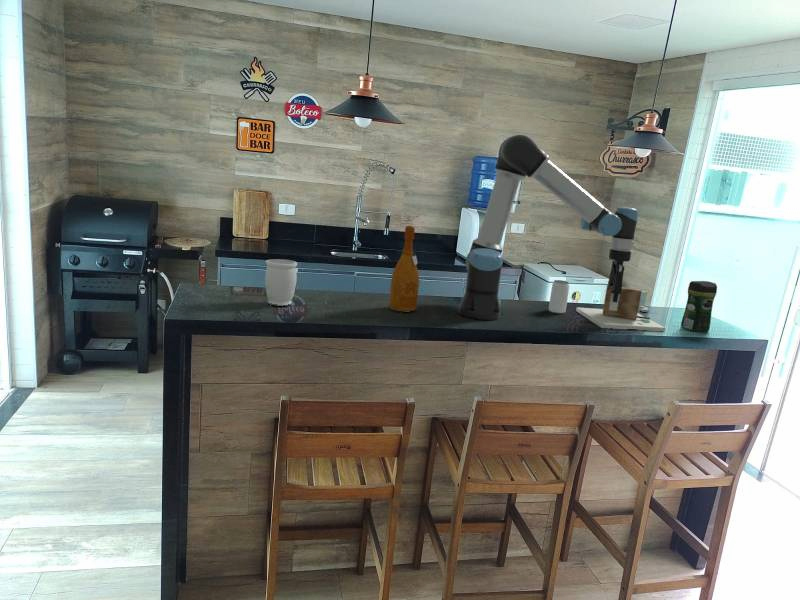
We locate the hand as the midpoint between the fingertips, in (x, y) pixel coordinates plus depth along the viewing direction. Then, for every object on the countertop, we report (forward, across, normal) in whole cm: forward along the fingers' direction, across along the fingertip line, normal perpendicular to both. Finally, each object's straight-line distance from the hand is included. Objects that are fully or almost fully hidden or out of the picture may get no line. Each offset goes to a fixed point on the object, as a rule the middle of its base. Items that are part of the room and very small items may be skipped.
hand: (610, 307), depth 225 cm
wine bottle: (+5, -30, +74) cm, 80 cm away
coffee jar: (+5, +3, -31) cm, 32 cm away
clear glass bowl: (+6, +26, -15) cm, 31 cm away
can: (+5, +2, +19) cm, 20 cm away
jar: (+5, -46, +114) cm, 123 cm away
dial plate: (+5, 0, -4) cm, 6 cm away
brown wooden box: (+3, 0, -6) cm, 7 cm away
